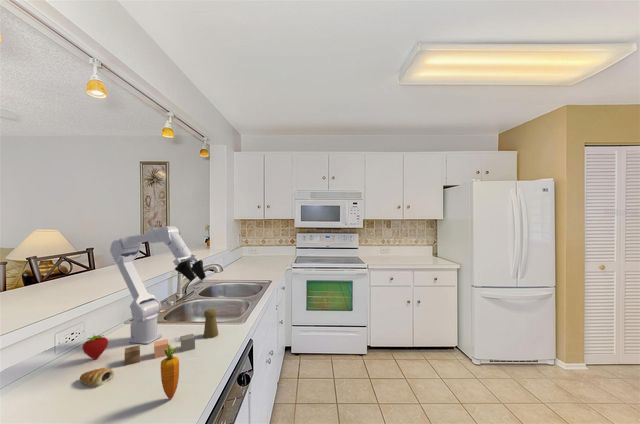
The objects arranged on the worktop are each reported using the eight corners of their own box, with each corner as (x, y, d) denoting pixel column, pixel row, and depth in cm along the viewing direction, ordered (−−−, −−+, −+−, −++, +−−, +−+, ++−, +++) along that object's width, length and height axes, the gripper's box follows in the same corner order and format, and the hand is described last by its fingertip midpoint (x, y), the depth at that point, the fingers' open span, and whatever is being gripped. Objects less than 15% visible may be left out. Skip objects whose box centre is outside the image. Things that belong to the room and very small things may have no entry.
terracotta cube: (154, 358, 107) (154, 346, 107) (154, 353, 111) (154, 341, 111) (168, 355, 109) (168, 343, 109) (167, 350, 113) (167, 339, 113)
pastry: (72, 385, 91) (72, 373, 91) (93, 374, 98) (93, 362, 98) (97, 388, 89) (97, 376, 89) (117, 376, 96) (117, 365, 96)
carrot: (165, 394, 85) (164, 342, 85) (183, 392, 86) (182, 341, 86) (157, 405, 80) (156, 350, 80) (176, 404, 81) (175, 348, 81)
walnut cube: (124, 366, 102) (124, 353, 102) (125, 360, 106) (125, 348, 106) (140, 362, 104) (139, 349, 104) (140, 357, 108) (139, 345, 108)
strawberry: (108, 359, 107) (108, 331, 107) (81, 366, 102) (81, 337, 102) (108, 353, 112) (108, 326, 112) (83, 359, 107) (82, 331, 107)
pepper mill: (220, 332, 129) (220, 307, 129) (214, 338, 123) (214, 312, 123) (207, 332, 130) (207, 307, 130) (200, 338, 124) (200, 311, 124)
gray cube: (182, 352, 111) (182, 340, 111) (180, 347, 115) (180, 336, 115) (195, 349, 114) (194, 337, 114) (193, 344, 118) (193, 333, 118)
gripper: (177, 243, 110) (196, 273, 107) (198, 246, 124) (215, 272, 121) (162, 255, 110) (181, 285, 107) (185, 256, 124) (202, 282, 121)
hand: (198, 279), depth 114 cm, fingers open, 7 cm apart
